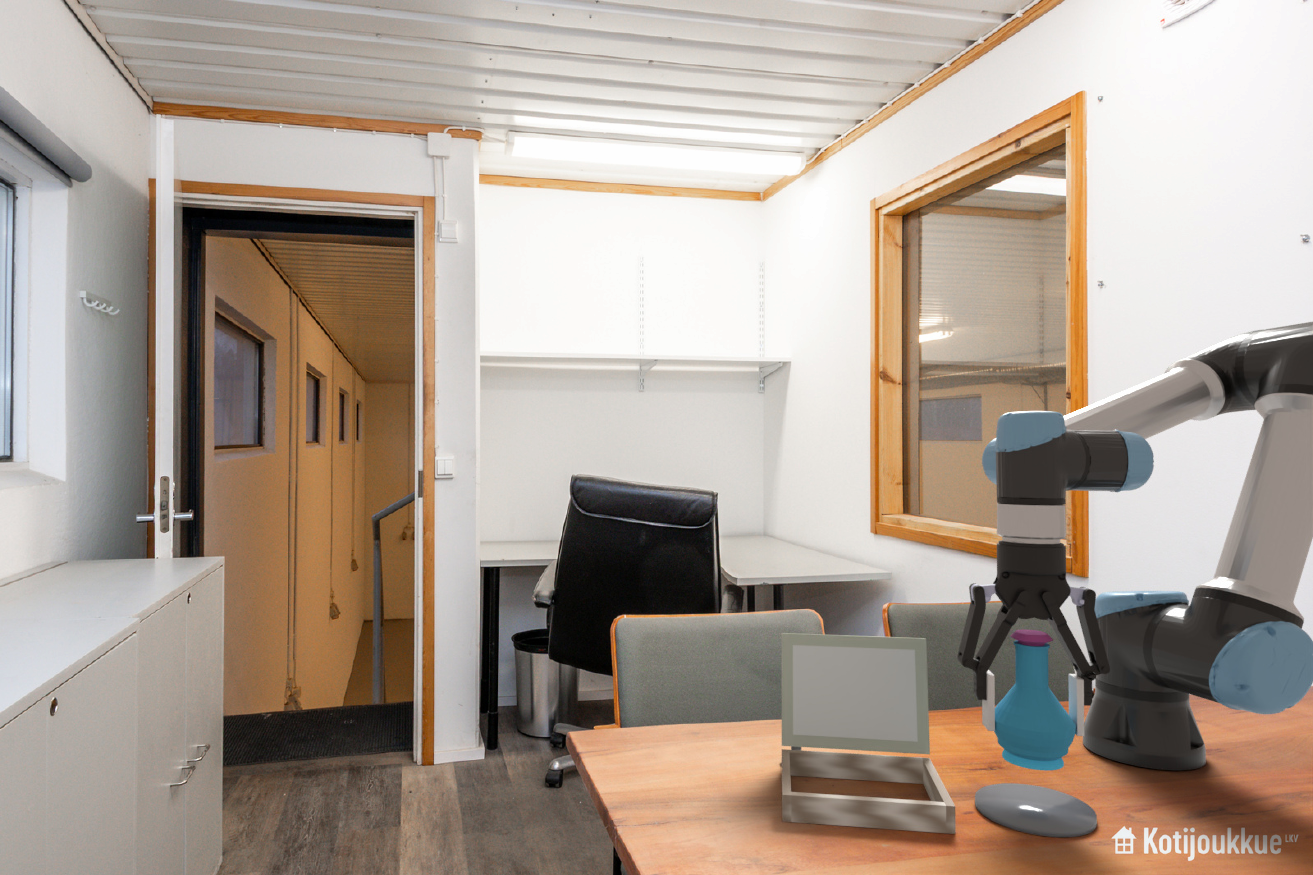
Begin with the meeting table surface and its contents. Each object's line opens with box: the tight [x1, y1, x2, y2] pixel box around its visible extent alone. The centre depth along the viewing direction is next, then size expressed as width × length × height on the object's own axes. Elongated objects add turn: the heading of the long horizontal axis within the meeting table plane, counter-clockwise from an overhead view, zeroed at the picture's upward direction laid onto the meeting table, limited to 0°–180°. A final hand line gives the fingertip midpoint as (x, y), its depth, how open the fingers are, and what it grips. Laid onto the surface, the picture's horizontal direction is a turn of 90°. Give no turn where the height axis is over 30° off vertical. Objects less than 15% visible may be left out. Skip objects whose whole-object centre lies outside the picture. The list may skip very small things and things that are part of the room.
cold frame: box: [781, 748, 957, 835], centre depth 97 cm, size 19×15×3 cm
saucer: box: [974, 782, 1098, 838], centre depth 94 cm, size 13×13×1 cm
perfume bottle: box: [993, 629, 1076, 771], centre depth 94 cm, size 9×9×15 cm
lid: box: [781, 632, 931, 755], centre depth 105 cm, size 19×15×1 cm
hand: (1032, 729), depth 94 cm, fingers closed on perfume bottle, 9 cm apart
